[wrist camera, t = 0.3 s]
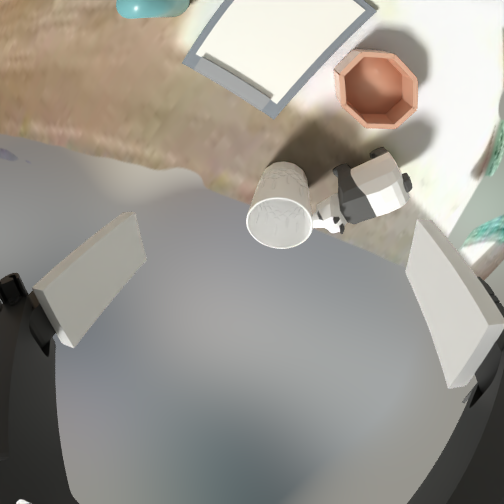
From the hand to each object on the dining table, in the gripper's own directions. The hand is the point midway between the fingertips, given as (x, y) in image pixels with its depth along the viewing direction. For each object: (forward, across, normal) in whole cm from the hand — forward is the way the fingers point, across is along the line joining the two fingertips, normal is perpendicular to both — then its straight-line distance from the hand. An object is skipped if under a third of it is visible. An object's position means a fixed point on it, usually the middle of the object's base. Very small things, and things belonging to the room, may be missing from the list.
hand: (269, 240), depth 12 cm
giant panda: (+29, +9, -4) cm, 30 cm away
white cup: (+29, -2, -5) cm, 30 cm away
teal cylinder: (+21, -12, +21) cm, 32 cm away
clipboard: (+23, -1, +16) cm, 28 cm away
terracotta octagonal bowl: (+25, +10, +9) cm, 28 cm away
